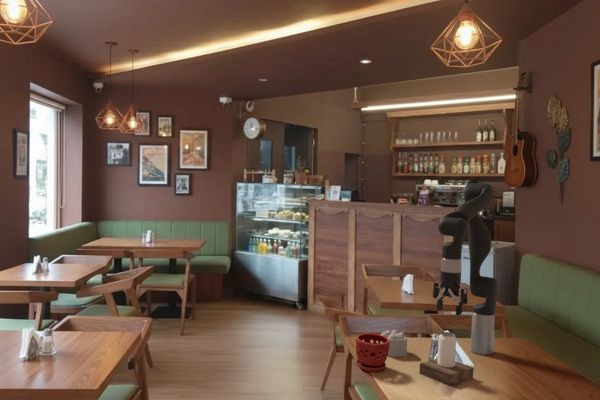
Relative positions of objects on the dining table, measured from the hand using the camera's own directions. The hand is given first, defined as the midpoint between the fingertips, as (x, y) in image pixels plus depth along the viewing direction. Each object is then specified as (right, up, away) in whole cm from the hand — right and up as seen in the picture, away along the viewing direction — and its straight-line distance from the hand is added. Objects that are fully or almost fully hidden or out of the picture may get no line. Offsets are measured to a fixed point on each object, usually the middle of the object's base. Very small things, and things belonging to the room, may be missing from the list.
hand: (449, 312), depth 202 cm
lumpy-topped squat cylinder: (-17, -23, +28) cm, 40 cm away
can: (-1, -21, +1) cm, 21 cm away
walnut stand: (-1, -24, +1) cm, 24 cm away
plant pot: (-29, -23, +7) cm, 38 cm away
